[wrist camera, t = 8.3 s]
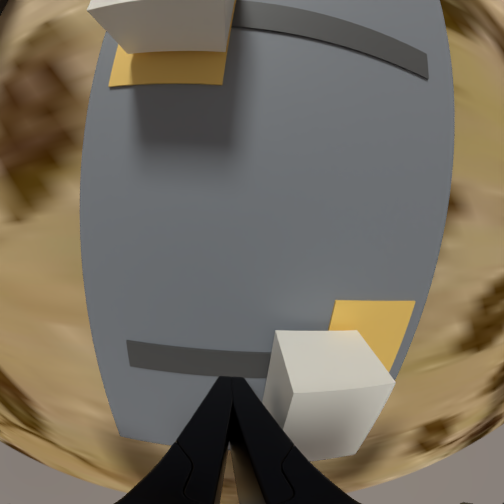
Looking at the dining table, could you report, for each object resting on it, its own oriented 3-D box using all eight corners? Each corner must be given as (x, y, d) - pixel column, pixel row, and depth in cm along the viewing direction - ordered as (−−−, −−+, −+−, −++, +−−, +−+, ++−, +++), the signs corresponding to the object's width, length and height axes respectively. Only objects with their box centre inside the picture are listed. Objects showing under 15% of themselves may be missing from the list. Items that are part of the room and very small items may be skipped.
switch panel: (420, -4, 7) (436, -16, 6) (354, 421, 13) (363, 440, 12) (157, -53, 6) (151, -72, 4) (126, 416, 12) (120, 437, 11)
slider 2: (357, 330, 9) (395, 382, 6) (332, 400, 10) (355, 454, 7) (275, 330, 9) (293, 393, 6) (261, 404, 10) (271, 464, 7)
